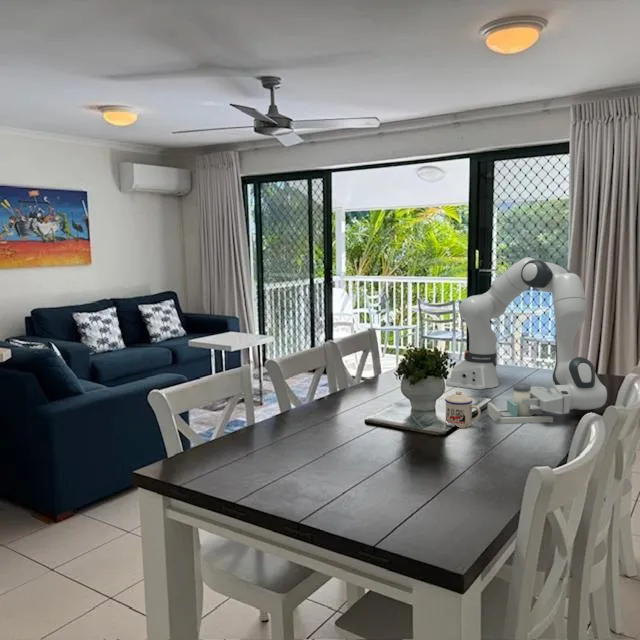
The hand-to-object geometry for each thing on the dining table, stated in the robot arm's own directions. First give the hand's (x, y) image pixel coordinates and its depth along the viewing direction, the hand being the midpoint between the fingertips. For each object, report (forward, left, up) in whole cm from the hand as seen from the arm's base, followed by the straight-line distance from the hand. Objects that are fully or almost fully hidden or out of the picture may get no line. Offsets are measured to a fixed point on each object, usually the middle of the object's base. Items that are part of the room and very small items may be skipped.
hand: (519, 398), depth 211 cm
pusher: (-4, -2, -7) cm, 8 cm away
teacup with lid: (-17, -14, -7) cm, 23 cm away
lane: (+1, 0, -7) cm, 7 cm away
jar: (+1, 0, -6) cm, 6 cm away
